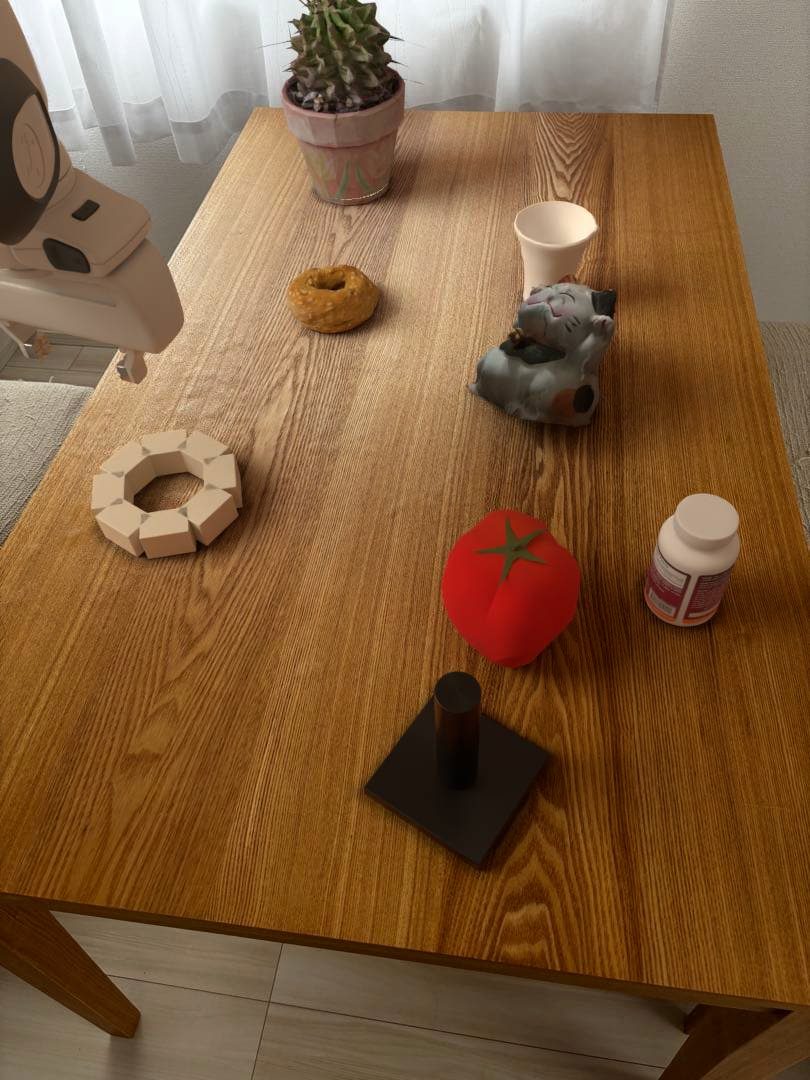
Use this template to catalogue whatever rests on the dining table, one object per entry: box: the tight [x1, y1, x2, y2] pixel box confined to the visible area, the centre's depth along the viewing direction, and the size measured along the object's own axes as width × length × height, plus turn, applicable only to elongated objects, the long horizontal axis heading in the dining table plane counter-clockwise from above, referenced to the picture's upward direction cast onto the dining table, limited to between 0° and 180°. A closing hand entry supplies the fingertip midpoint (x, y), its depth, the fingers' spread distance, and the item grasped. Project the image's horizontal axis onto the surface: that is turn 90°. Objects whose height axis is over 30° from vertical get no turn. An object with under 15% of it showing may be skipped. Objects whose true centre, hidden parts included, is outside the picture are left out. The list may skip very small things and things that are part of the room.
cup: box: [513, 200, 601, 302], centre depth 97 cm, size 9×9×10 cm
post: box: [363, 670, 550, 871], centre depth 60 cm, size 10×10×13 cm
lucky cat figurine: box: [465, 273, 618, 427], centre depth 86 cm, size 15×12×14 cm
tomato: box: [440, 508, 582, 670], centre depth 69 cm, size 11×13×10 cm
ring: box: [90, 428, 243, 560], centre depth 83 cm, size 13×13×3 cm
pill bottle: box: [643, 493, 741, 627], centre depth 70 cm, size 6×6×11 cm
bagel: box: [285, 263, 381, 334], centre depth 99 cm, size 10×11×5 cm
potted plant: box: [255, 0, 427, 207], centre depth 108 cm, size 18×20×25 cm
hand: (86, 366), depth 72 cm, fingers open, 8 cm apart
